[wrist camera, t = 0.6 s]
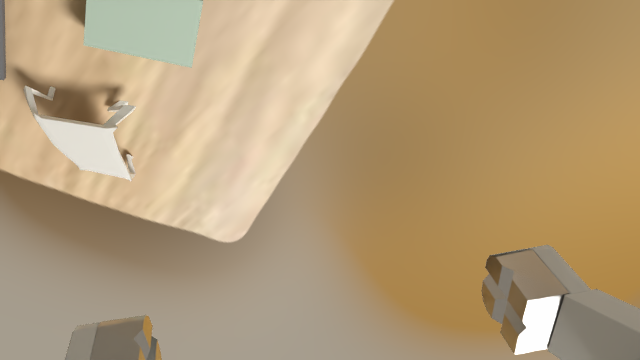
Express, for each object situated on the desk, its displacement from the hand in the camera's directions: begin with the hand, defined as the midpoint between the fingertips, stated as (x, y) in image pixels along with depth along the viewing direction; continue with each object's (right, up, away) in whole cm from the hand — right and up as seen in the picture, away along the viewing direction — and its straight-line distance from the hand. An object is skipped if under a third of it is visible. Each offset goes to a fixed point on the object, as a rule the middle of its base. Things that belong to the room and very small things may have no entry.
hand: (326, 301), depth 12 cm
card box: (-16, +18, +34) cm, 42 cm away
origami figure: (-23, +9, +38) cm, 46 cm away
